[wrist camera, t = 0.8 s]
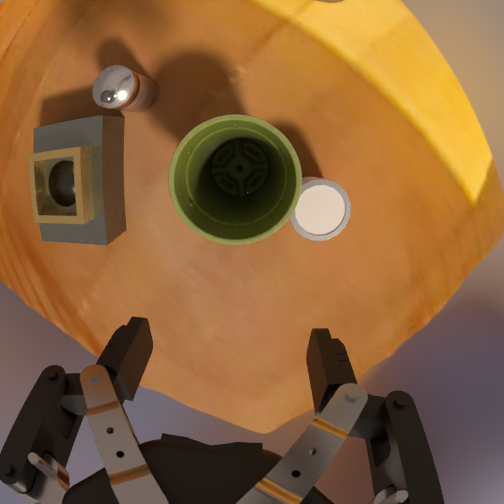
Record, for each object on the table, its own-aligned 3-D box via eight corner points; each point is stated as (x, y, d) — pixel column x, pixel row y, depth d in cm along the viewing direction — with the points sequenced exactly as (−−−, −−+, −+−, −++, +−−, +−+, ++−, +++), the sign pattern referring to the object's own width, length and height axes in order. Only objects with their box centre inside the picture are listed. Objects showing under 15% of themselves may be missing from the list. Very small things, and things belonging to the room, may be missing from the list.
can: (124, 79, 29) (90, 67, 21) (158, 75, 29) (130, 59, 21) (121, 114, 31) (85, 110, 23) (155, 111, 31) (126, 104, 23)
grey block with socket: (58, 127, 31) (22, 129, 23) (124, 117, 31) (91, 114, 23) (64, 230, 37) (32, 250, 29) (126, 233, 37) (98, 256, 30)
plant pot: (188, 206, 36) (162, 234, 26) (202, 116, 32) (178, 106, 21) (277, 221, 37) (286, 255, 26) (296, 132, 32) (314, 129, 22)
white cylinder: (286, 168, 34) (293, 174, 28) (338, 175, 34) (356, 184, 28) (279, 220, 37) (284, 237, 30) (329, 225, 37) (344, 244, 30)
